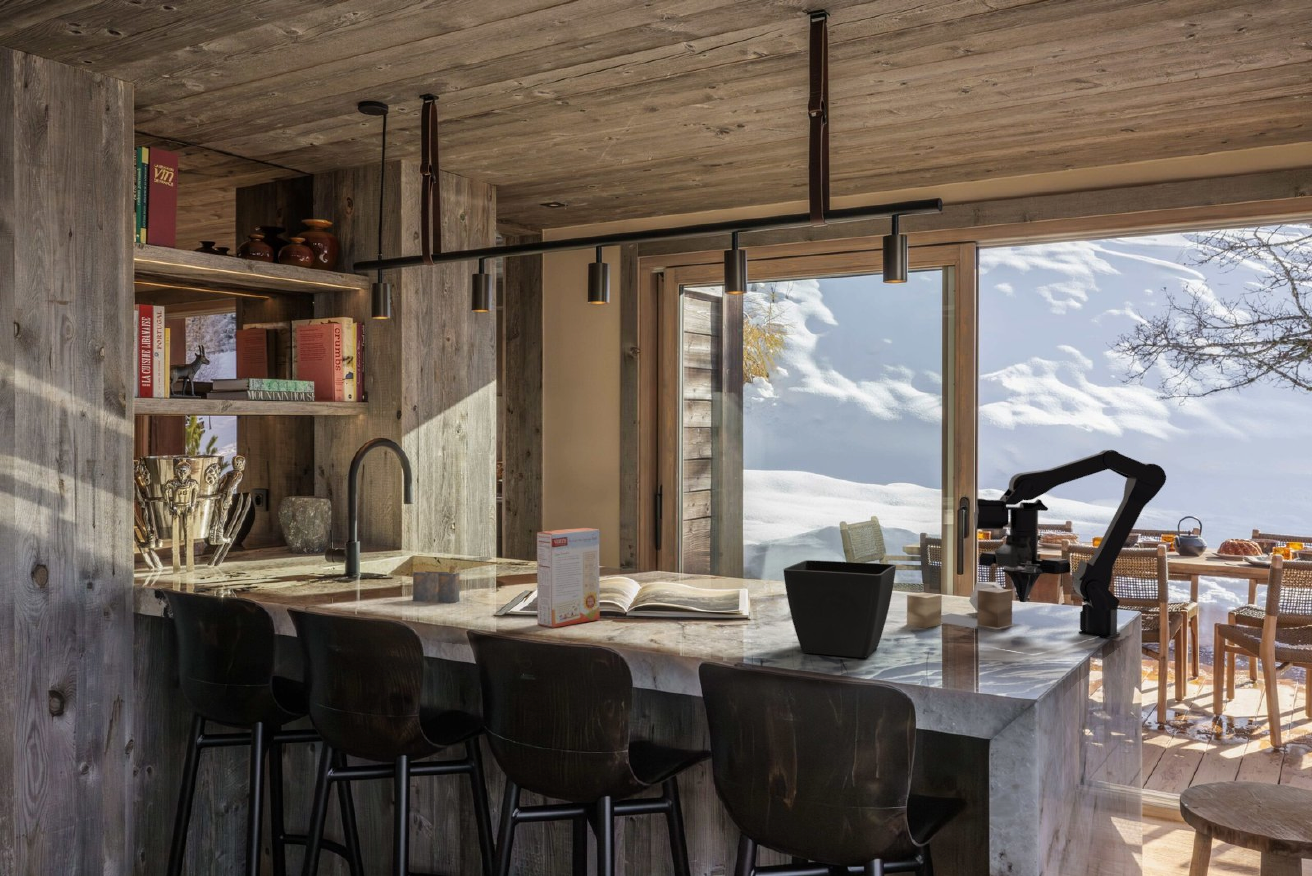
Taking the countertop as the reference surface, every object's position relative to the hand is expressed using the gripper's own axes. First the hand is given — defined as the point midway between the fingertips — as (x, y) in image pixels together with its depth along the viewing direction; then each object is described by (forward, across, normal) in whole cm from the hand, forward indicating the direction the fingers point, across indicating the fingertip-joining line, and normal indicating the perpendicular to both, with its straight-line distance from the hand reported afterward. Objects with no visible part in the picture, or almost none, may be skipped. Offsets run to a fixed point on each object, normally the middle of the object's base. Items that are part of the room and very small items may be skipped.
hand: (1022, 602), depth 219 cm
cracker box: (+7, -71, -71) cm, 100 cm away
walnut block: (+6, -7, 0) cm, 9 cm away
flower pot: (+7, -14, -46) cm, 48 cm away
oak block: (+7, -18, -11) cm, 22 cm away
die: (+7, -16, +13) cm, 21 cm away
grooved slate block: (+8, -115, -79) cm, 140 cm away
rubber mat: (+7, -13, 0) cm, 14 cm away
